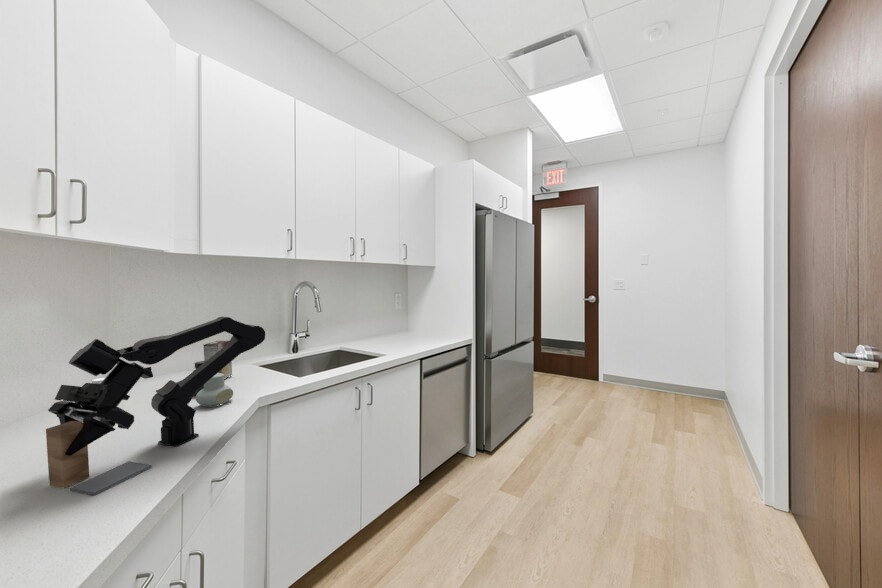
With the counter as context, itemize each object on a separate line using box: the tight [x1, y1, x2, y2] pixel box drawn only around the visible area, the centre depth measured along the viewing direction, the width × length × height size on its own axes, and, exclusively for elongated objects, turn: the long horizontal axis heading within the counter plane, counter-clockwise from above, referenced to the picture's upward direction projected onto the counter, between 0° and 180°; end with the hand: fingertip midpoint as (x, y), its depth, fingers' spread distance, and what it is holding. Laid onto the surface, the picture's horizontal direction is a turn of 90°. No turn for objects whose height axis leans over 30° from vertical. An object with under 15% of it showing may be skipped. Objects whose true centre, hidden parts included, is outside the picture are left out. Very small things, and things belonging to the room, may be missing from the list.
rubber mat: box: [69, 460, 152, 496], centre depth 78 cm, size 11×7×1 cm, turn 165°
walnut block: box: [45, 421, 90, 489], centre depth 77 cm, size 4×4×12 cm
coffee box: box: [203, 340, 233, 380], centre depth 155 cm, size 9×6×16 cm
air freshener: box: [195, 373, 234, 407], centre depth 124 cm, size 11×8×10 cm
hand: (59, 453), depth 76 cm, fingers closed on walnut block, 4 cm apart
